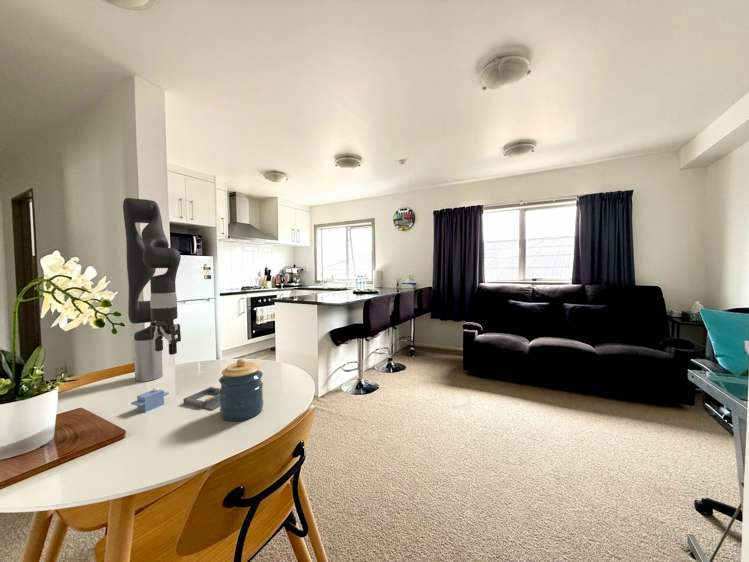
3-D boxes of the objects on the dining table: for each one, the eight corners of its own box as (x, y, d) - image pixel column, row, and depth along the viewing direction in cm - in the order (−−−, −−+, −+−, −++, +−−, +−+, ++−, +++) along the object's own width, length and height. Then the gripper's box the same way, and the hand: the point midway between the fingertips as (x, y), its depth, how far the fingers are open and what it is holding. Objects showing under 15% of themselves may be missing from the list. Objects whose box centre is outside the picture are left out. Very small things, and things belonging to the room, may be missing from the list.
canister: (215, 425, 90) (213, 367, 89) (224, 405, 103) (223, 354, 102) (261, 418, 94) (260, 363, 93) (265, 400, 106) (263, 351, 105)
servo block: (131, 412, 98) (130, 395, 98) (161, 400, 107) (160, 384, 107) (139, 414, 97) (138, 397, 97) (169, 402, 106) (168, 386, 106)
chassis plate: (183, 403, 104) (183, 397, 104) (211, 391, 115) (210, 385, 114) (212, 410, 100) (212, 403, 99) (238, 396, 110) (238, 390, 110)
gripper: (140, 306, 103) (142, 352, 104) (163, 308, 96) (165, 358, 97) (164, 303, 110) (166, 347, 110) (187, 305, 103) (189, 352, 104)
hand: (166, 352), depth 104 cm, fingers open, 8 cm apart
